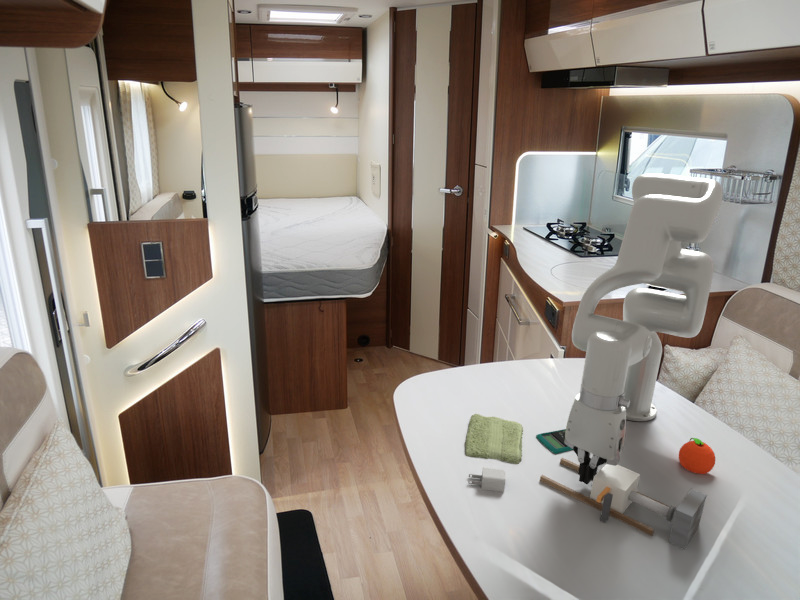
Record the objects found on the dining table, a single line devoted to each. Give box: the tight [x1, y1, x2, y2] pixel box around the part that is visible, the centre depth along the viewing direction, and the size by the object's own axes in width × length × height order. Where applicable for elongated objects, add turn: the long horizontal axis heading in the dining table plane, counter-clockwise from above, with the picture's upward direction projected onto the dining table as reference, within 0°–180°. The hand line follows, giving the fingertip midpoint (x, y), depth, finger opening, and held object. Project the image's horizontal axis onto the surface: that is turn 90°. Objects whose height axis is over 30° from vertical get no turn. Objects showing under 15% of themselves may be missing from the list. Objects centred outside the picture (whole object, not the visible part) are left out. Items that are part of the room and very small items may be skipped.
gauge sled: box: [589, 463, 677, 523], centre depth 108 cm, size 11×14×6 cm
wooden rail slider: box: [539, 457, 708, 550], centre depth 111 cm, size 14×30×8 cm, turn 48°
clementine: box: [678, 437, 716, 475], centre depth 124 cm, size 8×7×7 cm
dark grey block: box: [599, 493, 613, 523], centre depth 106 cm, size 2×1×5 cm, turn 138°
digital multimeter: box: [535, 428, 574, 455], centre depth 132 cm, size 7×15×3 cm, turn 112°
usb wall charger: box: [468, 467, 506, 493], centre depth 116 cm, size 4×7×4 cm, turn 81°
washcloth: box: [464, 413, 524, 465], centre depth 131 cm, size 13×18×3 cm
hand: (586, 479), depth 115 cm, fingers closed
